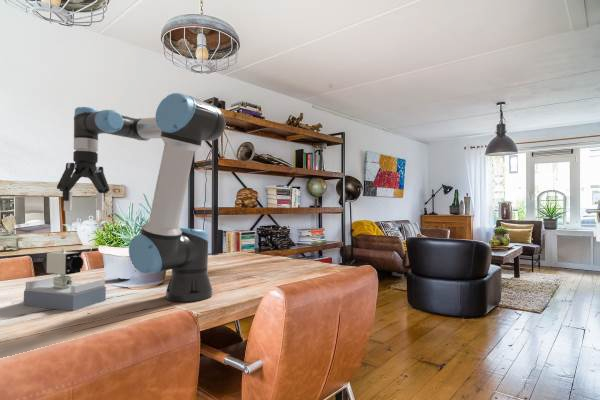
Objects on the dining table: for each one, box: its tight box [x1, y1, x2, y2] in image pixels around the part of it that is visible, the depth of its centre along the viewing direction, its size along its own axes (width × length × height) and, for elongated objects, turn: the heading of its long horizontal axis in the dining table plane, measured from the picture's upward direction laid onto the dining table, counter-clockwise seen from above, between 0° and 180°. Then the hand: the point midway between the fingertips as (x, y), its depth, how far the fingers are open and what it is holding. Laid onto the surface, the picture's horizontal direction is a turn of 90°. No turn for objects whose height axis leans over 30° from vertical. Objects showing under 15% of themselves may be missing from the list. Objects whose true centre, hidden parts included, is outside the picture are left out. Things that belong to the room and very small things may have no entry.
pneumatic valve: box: [42, 248, 84, 289], centre depth 113 cm, size 6×12×12 cm, turn 72°
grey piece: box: [23, 274, 107, 312], centre depth 114 cm, size 22×12×7 cm, turn 75°
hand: (84, 210), depth 129 cm, fingers open, 13 cm apart
